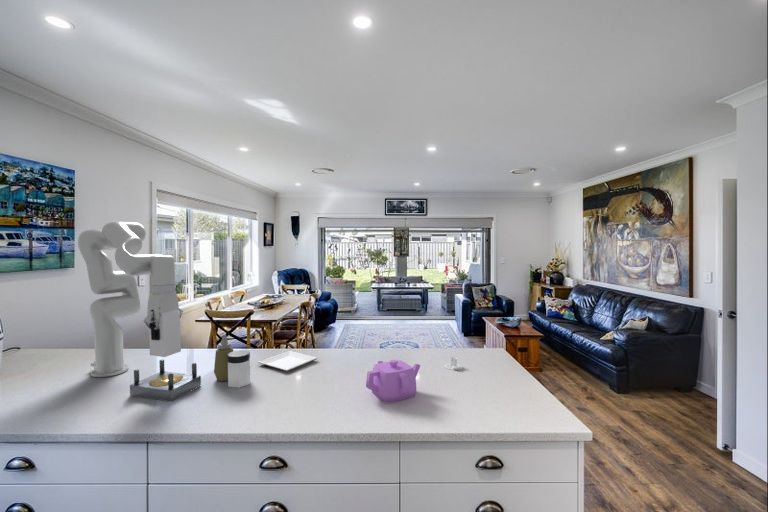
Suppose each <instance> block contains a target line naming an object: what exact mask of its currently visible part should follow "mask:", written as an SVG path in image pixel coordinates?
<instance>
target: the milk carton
mask: <svg viewBox="0 0 768 512" xmlns="http://www.w3.org/2000/svg"><path fill="white" fill-rule="evenodd" d="M161 315H162V316H161V318H160V322H159V327H158V329H159V330H160V340H152V339H151V329H149V328H148V340H149V341H148V343H149V355H150V356H155V357H161V358H167V357H169V356H173V355H175V354H178V353H181V351H182V345H181V344H182V343H181V342H182V339H181V318H180V312H179V311H178V309H177V308H176V309H174V310H171V311H169V312H165V313H161ZM153 317H154V320H156V318H155V316H153ZM152 319H153V318H152ZM151 322H152V320H151ZM155 324H156V322H155ZM155 324H154V325H155Z"/></svg>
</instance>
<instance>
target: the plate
mask: <svg viewBox="0 0 768 512" xmlns="http://www.w3.org/2000/svg"><path fill="white" fill-rule="evenodd" d="M317 359H318V357H316V356H312V355H308V354H304V353H301V352H296V351H294V350H293V351H292V350H288V351H284V352H282V353H279V354H276V355H273V356H271V357H268V358H264V359H261V360H259V361H257V363H258V364H262V365H265V366H268V367H271V368H275V369H276V370H282V371H285V372H289V371H291V370H294V369H296V368H299V367H301V366H303V365H306V364H308V363H311V362H313V361H315V360H317Z"/></svg>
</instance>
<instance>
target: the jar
mask: <svg viewBox="0 0 768 512" xmlns="http://www.w3.org/2000/svg"><path fill="white" fill-rule="evenodd" d="M250 353H251V352H250V351H249V350H244V349H240V350H233V352H230V353H228V355H227V360H228V380H227V382H228V383H227V387H228V388H236V387H237V388H238V389H239V388H243V387H245V386H249V385H250V384H251V363H250V362H251V361H250V358H251V354H250Z"/></svg>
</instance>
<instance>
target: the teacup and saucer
mask: <svg viewBox="0 0 768 512" xmlns="http://www.w3.org/2000/svg"><path fill="white" fill-rule="evenodd" d="M448 366H450V367H448ZM444 368H446V369H447V370H450V371H451V370H452V371H459V370H462V369H463V365H461V364H459V363H458V358H457V357H455V356H454V357H453V356H452V357H449V362H448V363H446V364H444Z"/></svg>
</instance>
